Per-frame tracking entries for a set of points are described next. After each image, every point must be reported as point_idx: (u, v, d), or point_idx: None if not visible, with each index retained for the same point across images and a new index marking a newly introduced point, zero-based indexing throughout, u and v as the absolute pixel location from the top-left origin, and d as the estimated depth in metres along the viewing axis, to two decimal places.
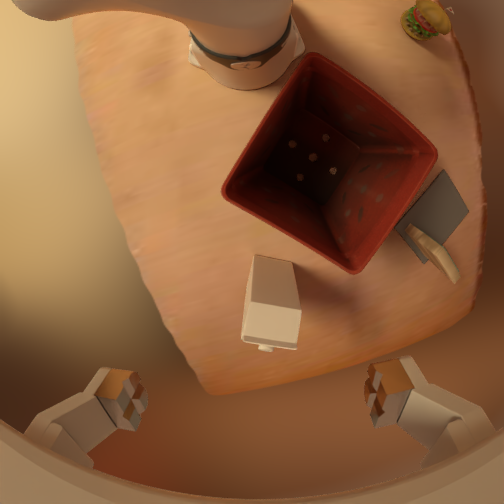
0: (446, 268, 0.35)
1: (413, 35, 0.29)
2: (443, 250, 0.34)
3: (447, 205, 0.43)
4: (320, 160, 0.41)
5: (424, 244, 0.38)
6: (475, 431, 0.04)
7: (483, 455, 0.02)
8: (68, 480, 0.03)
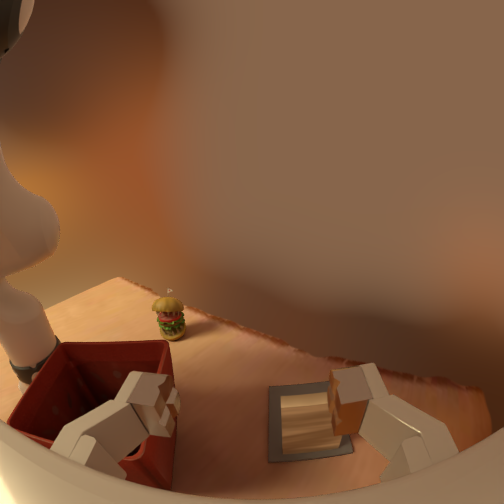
0: (313, 403, 0.26)
1: (173, 336, 0.60)
2: (282, 398, 0.27)
3: None
4: None
5: None
6: (434, 451, 0.04)
7: (483, 455, 0.02)
8: (68, 480, 0.03)
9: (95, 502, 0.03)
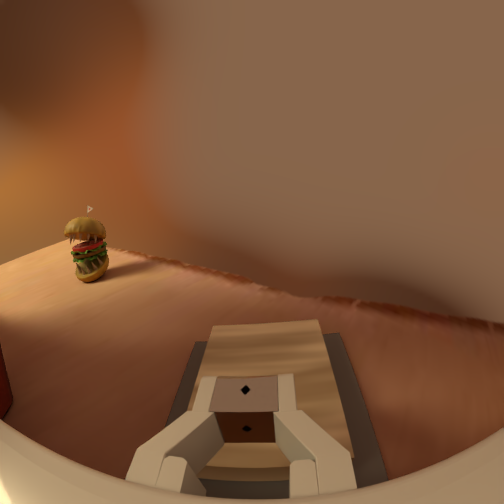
0: None
1: (88, 275, 0.37)
2: None
3: None
4: None
5: None
6: (325, 480, 0.04)
7: (483, 455, 0.02)
8: (68, 480, 0.03)
9: (95, 502, 0.03)
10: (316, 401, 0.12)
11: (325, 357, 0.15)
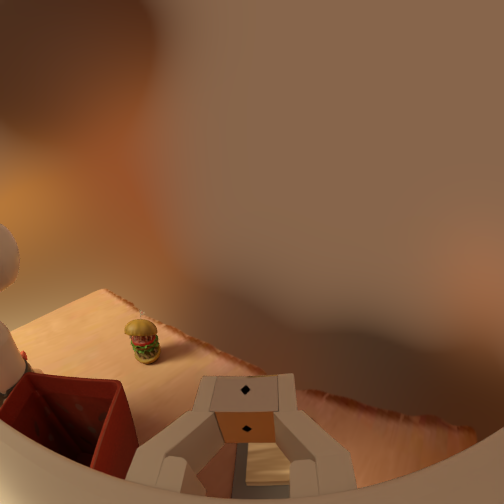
0: None
1: (147, 360, 0.54)
2: None
3: None
4: None
5: None
6: (325, 480, 0.04)
7: (483, 455, 0.02)
8: (68, 480, 0.03)
9: (95, 502, 0.03)
10: None
11: None
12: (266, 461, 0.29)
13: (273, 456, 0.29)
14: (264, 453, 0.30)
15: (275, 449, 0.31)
